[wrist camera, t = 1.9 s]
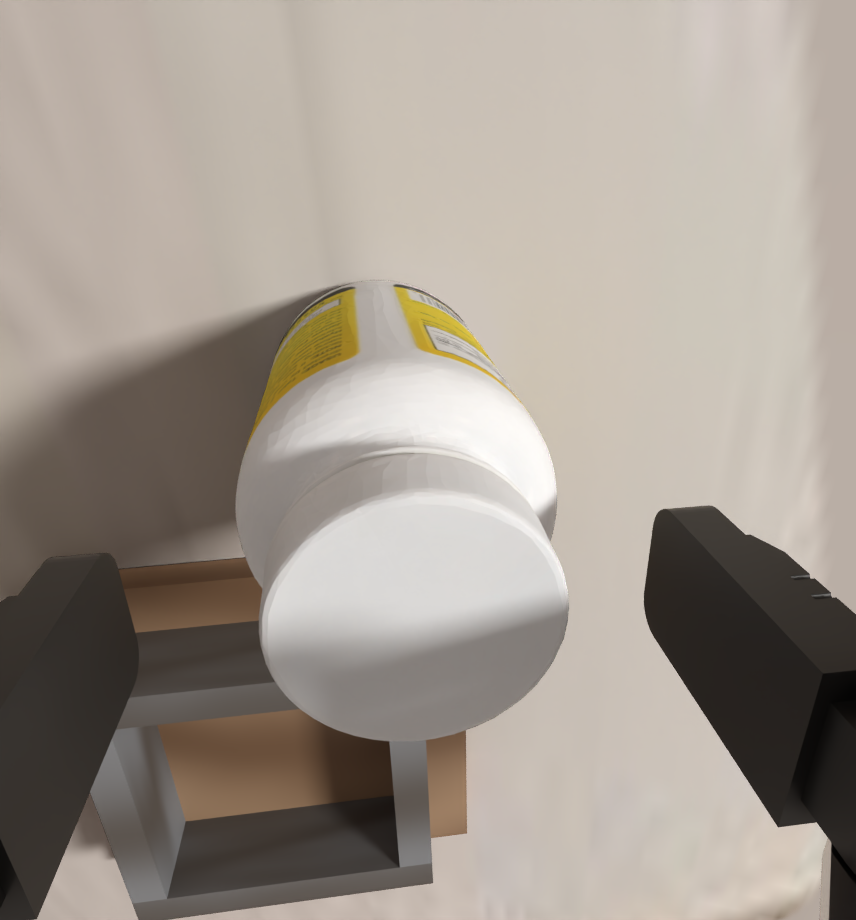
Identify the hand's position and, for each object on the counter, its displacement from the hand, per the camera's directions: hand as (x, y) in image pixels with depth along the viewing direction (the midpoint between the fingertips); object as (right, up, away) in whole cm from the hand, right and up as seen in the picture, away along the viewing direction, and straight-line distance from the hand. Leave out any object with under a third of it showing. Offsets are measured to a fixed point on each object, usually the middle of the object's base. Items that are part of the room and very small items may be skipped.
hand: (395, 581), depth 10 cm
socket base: (-4, -6, +12) cm, 14 cm away
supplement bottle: (-1, +4, +7) cm, 8 cm away
